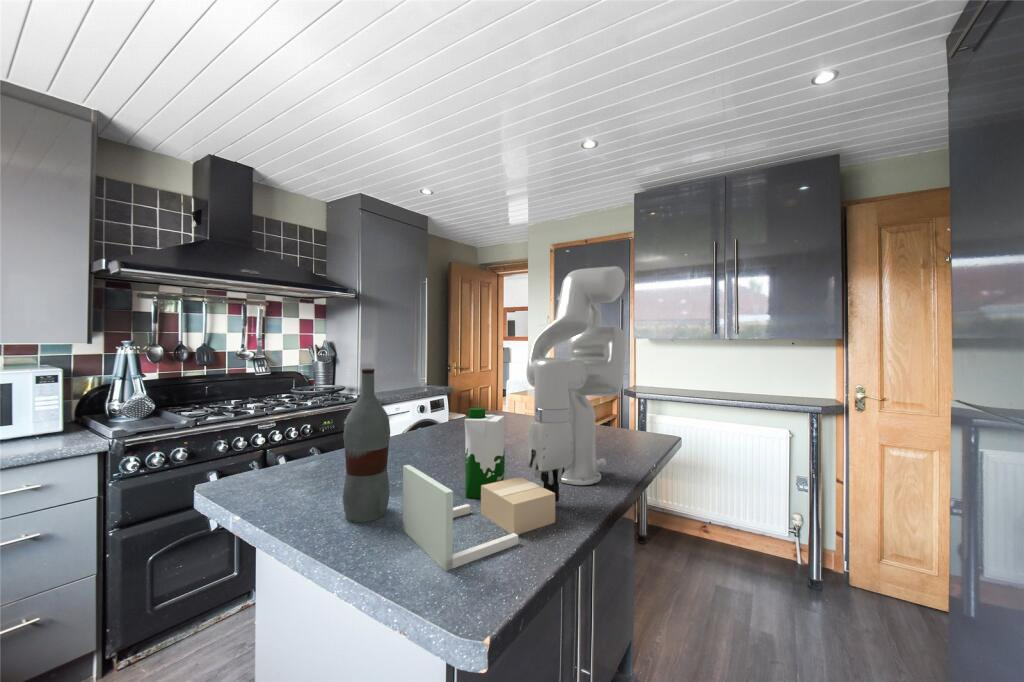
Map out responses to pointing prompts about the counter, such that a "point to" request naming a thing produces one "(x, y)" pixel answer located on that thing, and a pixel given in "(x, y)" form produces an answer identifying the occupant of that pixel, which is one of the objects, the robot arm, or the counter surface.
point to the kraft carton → (518, 505)
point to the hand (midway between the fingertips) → (551, 500)
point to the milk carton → (483, 450)
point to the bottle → (366, 456)
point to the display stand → (439, 521)
